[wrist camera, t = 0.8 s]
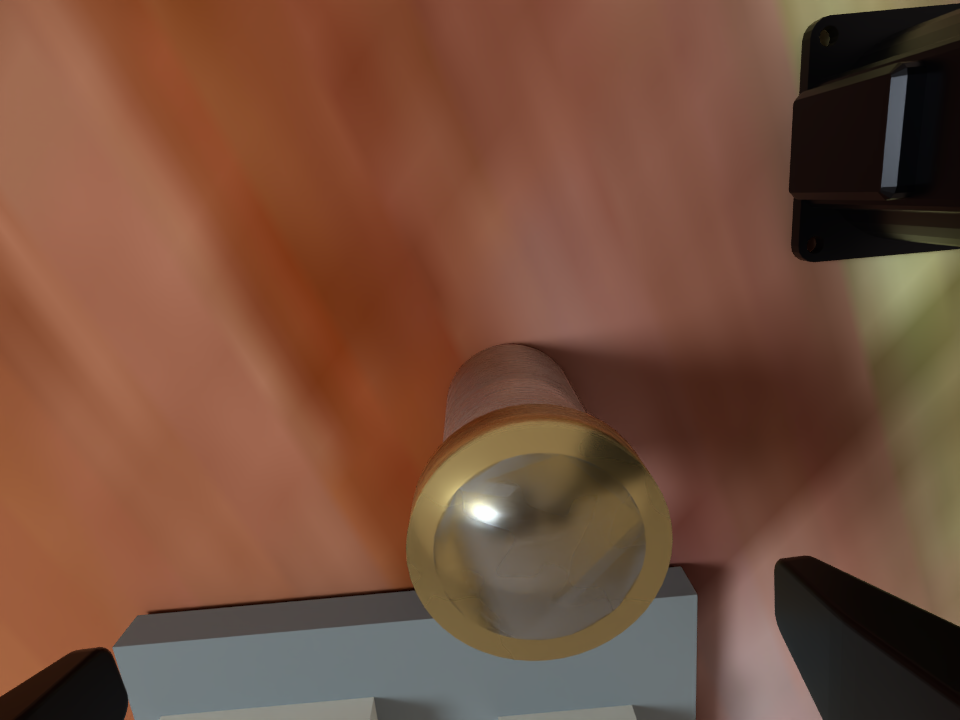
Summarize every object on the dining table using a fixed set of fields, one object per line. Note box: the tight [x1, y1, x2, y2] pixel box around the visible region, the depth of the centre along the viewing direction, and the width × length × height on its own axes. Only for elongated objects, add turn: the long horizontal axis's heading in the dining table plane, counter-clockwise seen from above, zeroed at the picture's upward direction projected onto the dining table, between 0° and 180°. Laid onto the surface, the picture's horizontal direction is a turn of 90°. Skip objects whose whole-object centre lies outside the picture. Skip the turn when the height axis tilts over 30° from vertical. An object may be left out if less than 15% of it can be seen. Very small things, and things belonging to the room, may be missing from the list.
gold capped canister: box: [406, 344, 673, 661], centre depth 15 cm, size 5×5×8 cm
